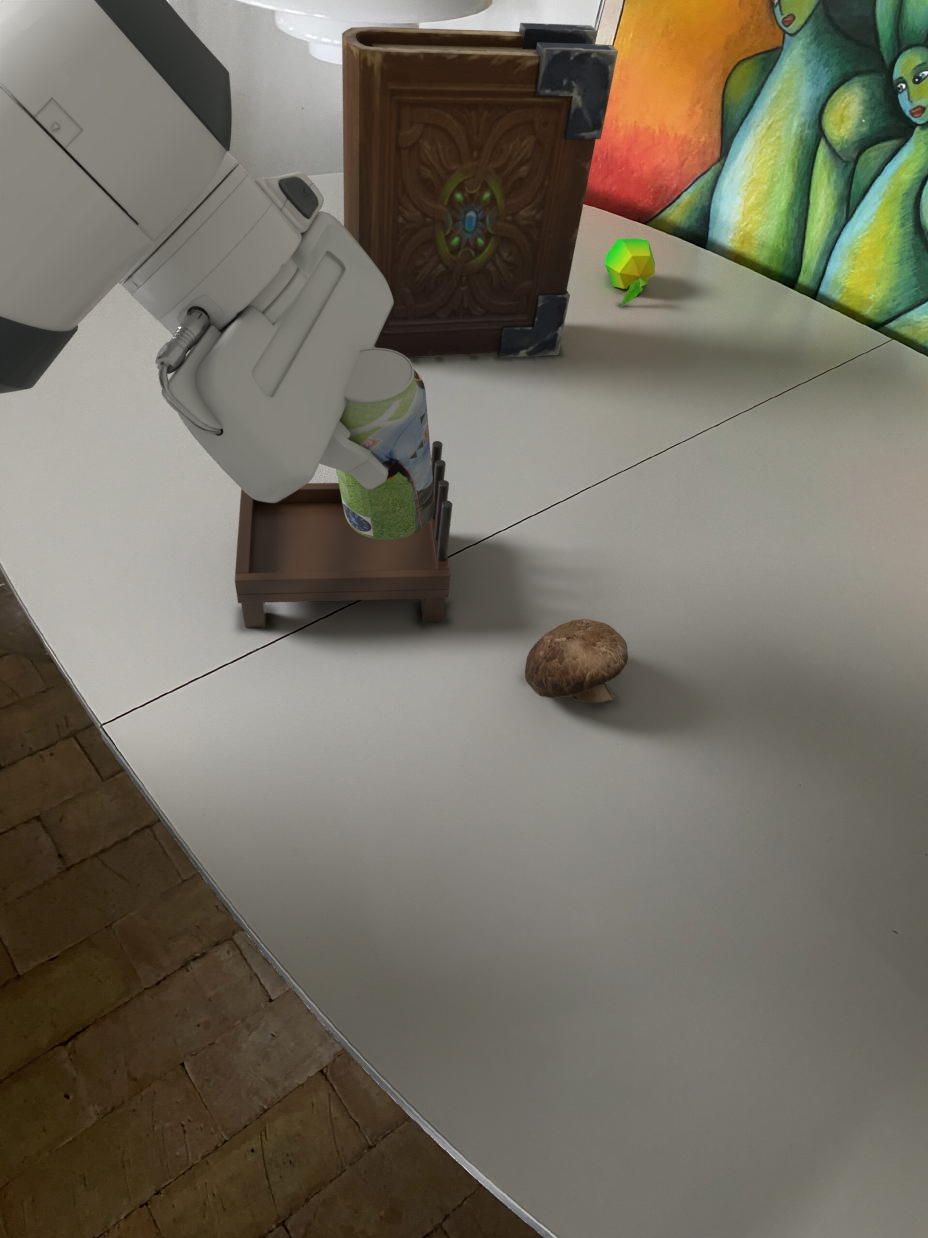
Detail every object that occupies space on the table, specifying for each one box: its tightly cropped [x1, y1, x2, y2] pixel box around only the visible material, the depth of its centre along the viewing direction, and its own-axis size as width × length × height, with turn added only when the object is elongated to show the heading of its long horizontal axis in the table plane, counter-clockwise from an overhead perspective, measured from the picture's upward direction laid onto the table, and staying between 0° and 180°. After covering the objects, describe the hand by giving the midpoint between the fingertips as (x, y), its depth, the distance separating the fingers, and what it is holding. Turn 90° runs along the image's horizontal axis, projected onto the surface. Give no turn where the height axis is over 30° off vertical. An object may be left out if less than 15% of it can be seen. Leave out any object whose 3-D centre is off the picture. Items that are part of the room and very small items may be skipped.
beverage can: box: [335, 348, 435, 540], centre depth 54 cm, size 6×7×12 cm
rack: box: [234, 440, 453, 628], centre depth 69 cm, size 16×11×11 cm
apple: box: [604, 238, 656, 307], centre depth 108 cm, size 7×6×9 cm
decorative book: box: [341, 22, 619, 359], centre depth 87 cm, size 23×7×30 cm, turn 104°
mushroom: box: [524, 618, 629, 704], centre depth 65 cm, size 8×8×6 cm
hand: (393, 448), depth 54 cm, fingers closed on beverage can, 4 cm apart
